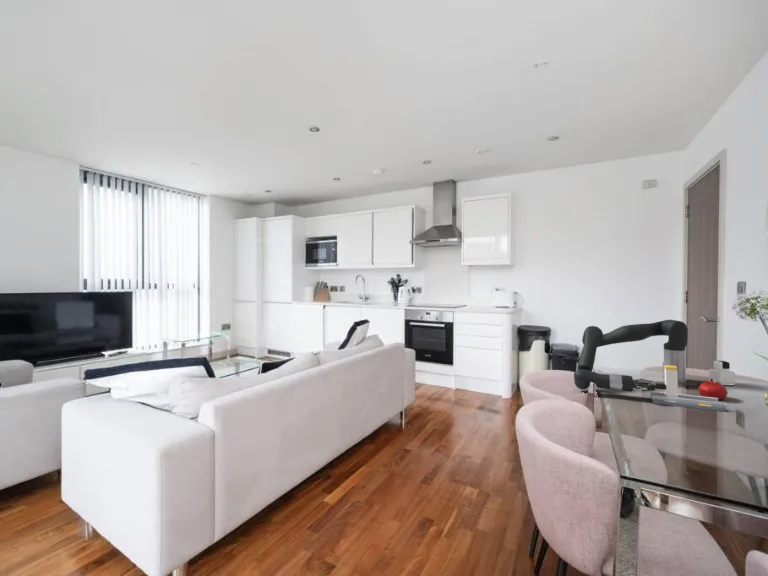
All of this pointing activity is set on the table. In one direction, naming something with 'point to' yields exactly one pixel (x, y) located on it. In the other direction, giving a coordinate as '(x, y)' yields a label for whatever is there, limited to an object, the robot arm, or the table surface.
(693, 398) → the switch plate
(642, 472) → the table surface
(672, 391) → the switch tab
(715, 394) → the red round fruit
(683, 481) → the table surface
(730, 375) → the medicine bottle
